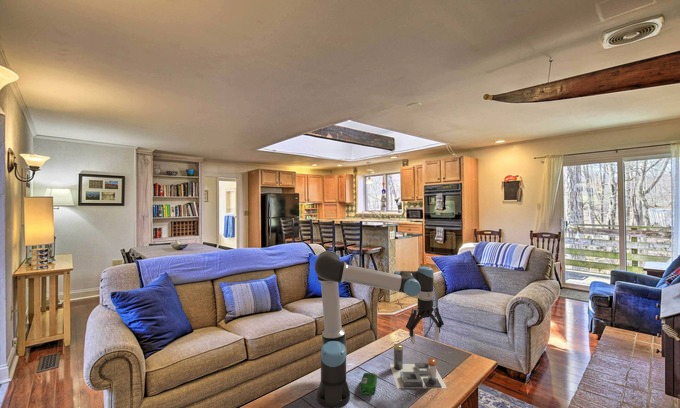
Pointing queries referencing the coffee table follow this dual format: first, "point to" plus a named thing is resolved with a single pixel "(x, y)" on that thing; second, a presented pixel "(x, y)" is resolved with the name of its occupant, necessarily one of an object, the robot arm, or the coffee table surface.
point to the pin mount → (411, 383)
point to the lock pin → (432, 371)
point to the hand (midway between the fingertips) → (424, 341)
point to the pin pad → (431, 384)
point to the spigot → (398, 356)
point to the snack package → (368, 383)
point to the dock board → (412, 369)
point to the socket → (421, 365)
